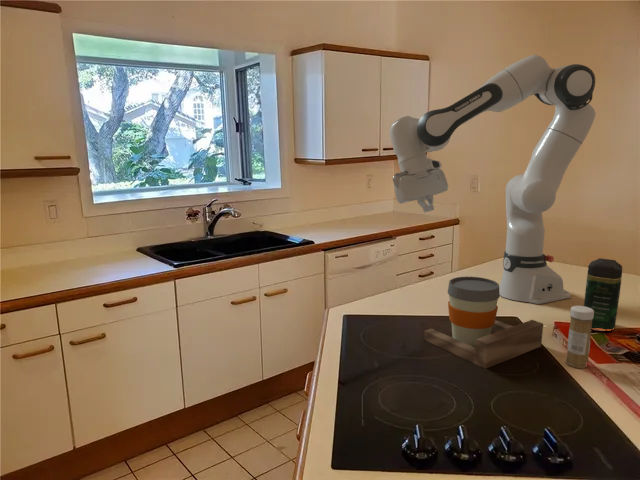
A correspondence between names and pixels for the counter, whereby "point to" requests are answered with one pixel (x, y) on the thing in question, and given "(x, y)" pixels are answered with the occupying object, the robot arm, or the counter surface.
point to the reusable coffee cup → (472, 307)
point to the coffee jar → (603, 291)
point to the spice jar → (579, 336)
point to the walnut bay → (492, 343)
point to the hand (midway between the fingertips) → (429, 211)
